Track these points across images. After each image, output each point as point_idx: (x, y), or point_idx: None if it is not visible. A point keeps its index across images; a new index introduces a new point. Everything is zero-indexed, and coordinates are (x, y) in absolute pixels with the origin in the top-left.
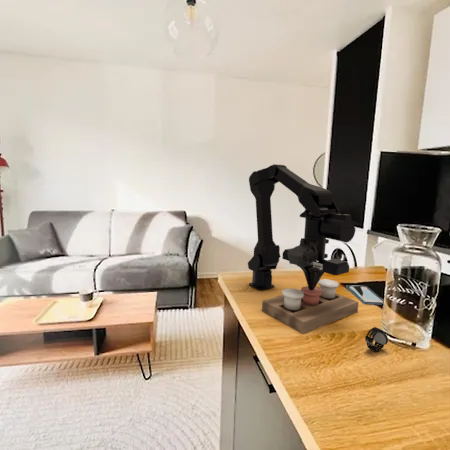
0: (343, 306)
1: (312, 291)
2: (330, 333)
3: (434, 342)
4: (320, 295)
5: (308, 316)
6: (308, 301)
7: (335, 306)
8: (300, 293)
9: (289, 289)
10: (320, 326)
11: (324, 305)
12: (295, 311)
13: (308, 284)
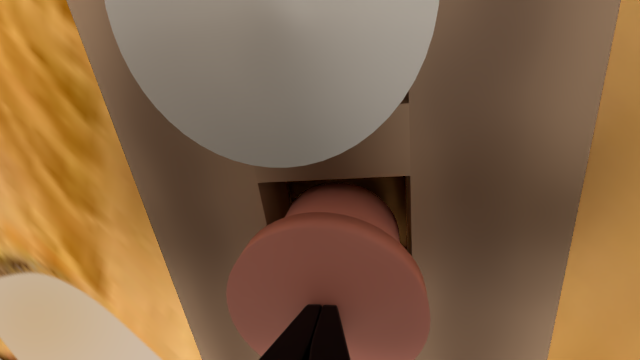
0: (198, 333)
1: (283, 293)
2: (94, 103)
3: (11, 353)
4: None
5: None
6: (302, 205)
7: (211, 302)
8: (188, 85)
9: (383, 37)
10: None
11: None
12: None
13: (327, 344)
